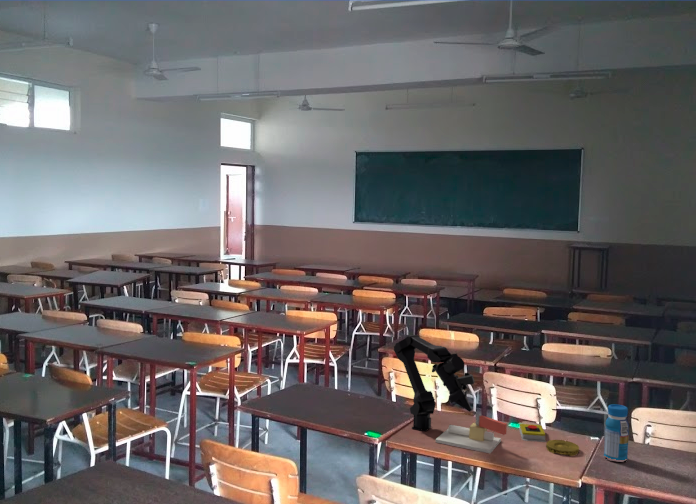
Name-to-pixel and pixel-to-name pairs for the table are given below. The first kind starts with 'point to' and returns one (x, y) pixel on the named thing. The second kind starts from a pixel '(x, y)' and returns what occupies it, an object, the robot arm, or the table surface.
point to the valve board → (469, 438)
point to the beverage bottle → (616, 433)
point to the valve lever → (491, 424)
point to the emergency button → (532, 432)
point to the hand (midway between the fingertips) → (470, 410)
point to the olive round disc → (562, 447)
